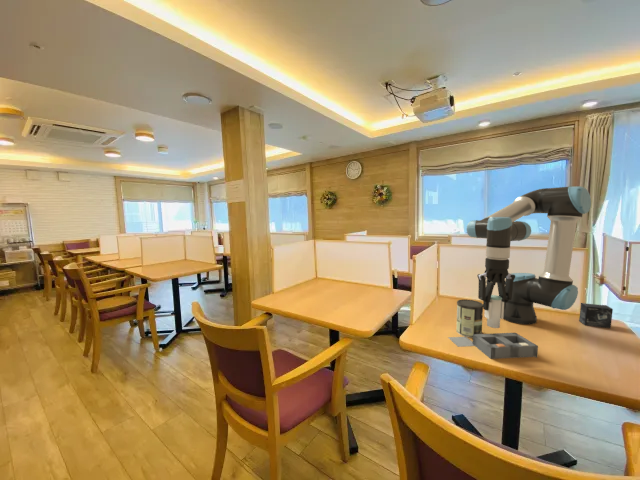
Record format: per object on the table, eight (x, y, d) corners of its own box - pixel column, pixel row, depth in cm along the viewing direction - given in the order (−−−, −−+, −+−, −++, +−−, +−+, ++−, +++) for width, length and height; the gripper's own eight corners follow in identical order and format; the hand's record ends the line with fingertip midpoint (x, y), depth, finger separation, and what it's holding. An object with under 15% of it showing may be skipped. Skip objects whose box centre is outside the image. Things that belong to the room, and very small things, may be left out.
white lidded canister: (494, 323, 106) (496, 294, 105) (502, 328, 102) (504, 298, 101) (484, 323, 106) (485, 295, 105) (491, 328, 102) (493, 298, 101)
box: (584, 325, 126) (586, 306, 125) (578, 321, 131) (580, 302, 130) (611, 328, 123) (613, 308, 122) (604, 324, 128) (605, 304, 127)
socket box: (514, 343, 112) (515, 331, 111) (537, 357, 101) (538, 345, 100) (472, 345, 111) (473, 333, 110) (490, 359, 100) (491, 347, 99)
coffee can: (476, 329, 125) (478, 299, 124) (485, 339, 115) (487, 307, 114) (453, 327, 127) (454, 298, 126) (459, 337, 117) (460, 306, 116)
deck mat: (465, 337, 117) (465, 336, 117) (477, 346, 109) (477, 345, 109) (447, 338, 117) (447, 337, 117) (457, 347, 109) (458, 346, 109)
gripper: (511, 255, 105) (508, 313, 108) (469, 256, 105) (466, 314, 107) (527, 259, 98) (522, 321, 101) (481, 260, 97) (478, 322, 100)
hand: (493, 317), depth 104 cm, fingers closed on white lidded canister, 4 cm apart
